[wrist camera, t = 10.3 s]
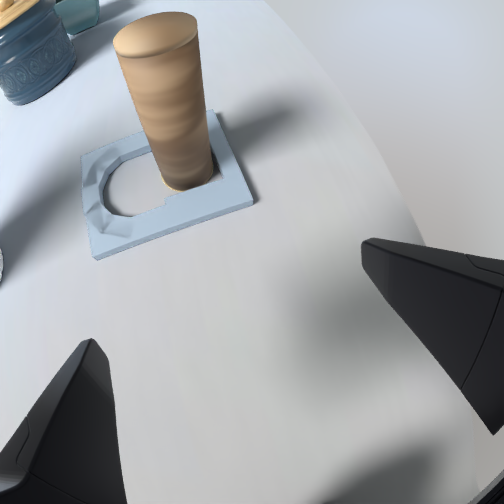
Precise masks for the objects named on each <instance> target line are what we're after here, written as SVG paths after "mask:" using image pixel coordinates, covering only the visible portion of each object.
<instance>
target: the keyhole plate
mask: <svg viewBox="0 0 504 504" xmlns="http://www.w3.org/2000/svg"><path fill="white" fill-rule="evenodd" d="M206 116H207V124H208V133H209V141H210V148H211V150H212V153H213V155H214V158H215V160H216V163H217V165H218V168H219V170H220V173H221V175H222V178H223V179H221V180H217V181H214V182H211V183H208V184H205V185H204V184H203V185H202V186H199V187H196V188H193V189H190V190H187V191H179V192H181V193H178V194H175V195H172V196H170V197H167V198H164V200H165V204H166V205H163V206H160V207H157V208H155V209H152V210H149V211H147V212H144V213H141V214H139V215H136V216H133V217H124V216H118V215H112V214H111V213H110V212H109V211H108V210H107V209H106V208H105V206H104V200H103V193H102V192H103V189H104V186H105V184H106V181H107V179H108V176H109V175H110V174H111V173H112V172H113V171H114V170H115V169H116V168H117V167H118V166H119V165H120V164H121V163H122V162H124V161H127V160H129V159H132V158H134V157H137V156H140V155H142V154H145V153H148V152H151V151H152V150H151V147H150V145H149V142H148V140H147V137H146V135H145V132H144V131H141V132H139V133H136V134H133V135H131V136H128V137H125V138H123V139H120V140H118V141H115V142H113V143H110V144H108V145H106V146H103V147H101V148H99V149H96V150H94V151H92V152H89V153H87V154H85V155H83V156H81V170H82V183H83V187H82V189H81V193H82V203H83V212H84V216H85V217H86V220H87V228H88V235H89V241H90V247H91V253H92V257H93V258H94V259H96V260H100V259H102V258H105V257H107V256H110V255H113V254H115V253H118V252H120V251H123V250H126V249H128V248H131V247H134V246H136V245H139V244H142V243H144V242H147V241H150V240H153V239H155V238H158V237H161V236H164V235H166V234H169V233H172V232H175V231H178V230H180V229H183V228H186V227H189V226H192V225H195V224H198V223H200V222H203V221H206V220H209V219H212V218H215V217H218V216H221V215H224V214H227V213H230V212H233V211H236V210H239V209H242V208H245V207H248V206H252V205H253V198H252V195H251V193H250V191H249V188H248V186H247V184H246V182H245V179H244V177H243V175H242V173H241V170H240V168H239V166H238V163H237V161H236V159H235V157H234V154H233V152H232V150H231V148H230V146H229V143H228V141H227V139H226V137H225V134H224V132H223V130H222V128H221V126H220V123H219V121H218V119H217V117H216V115H215V112H214V110H213V109H211V110H208V111H206ZM152 153H153V152H152ZM212 165H213V161H212ZM212 173H213V169H212ZM211 175H212V174H211ZM161 177H162V175H161ZM210 177H211V176H210ZM209 179H210V178H209ZM209 179H208V180H209ZM162 180H163V182H164V183H165V181H164V179H163V177H162ZM208 180H207V181H208ZM206 183H207V182H206ZM165 185H166V186H167V187H169V186H168V185H167V184H166V183H165ZM169 188H170V187H169ZM170 189H172V188H170ZM172 190H174V189H172ZM175 191H178V190H175Z"/></svg>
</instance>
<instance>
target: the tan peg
mask: <svg viewBox="0 0 504 504" xmlns="http://www.w3.org/2000/svg"><path fill="white" fill-rule="evenodd" d="M113 45H114V48H115V51H116V54H117V57H118V60H119V63H120V66H121V69H122V72H123V75H124V77H125V80H126V83H127V86H128V89H129V92H130V94H131V97H132V100H133V103H134V105H135V108H136V111H137V113H138V116H139V119H140V121H141V124H142V127H143V129H144V132H145V135H146V137H147V140H148V142H149V145H150V147H151V150H152V152H153V155H154V157H155V160H156V162H157V165H158V167H159V170H160V172H161V175H162V177H163V179H164V181H165V183H166V184H167V185H168V186H169V187H170V188H172V189H174V190H178V191H187V190H190V189H193V188H196V187H199V186H202V185H203V184H205V183H206V182H207V180H208V179H209V178H210V176H211V174H212V169H213V165H212V157H211V149H210V141H209V133H208V124H207V116H206V107H205V98H204V89H203V80H202V70H201V60H200V50H199V40H198V29H197V20H196V18H195V17H194V16H192V15H190V14H187V13H183V12H163V13H157V14H152V15H149V16H146V17H143V18H140V19H138V20H136V21H134V22H132V23H130V24H128V25H127V26H125V27H124V28H122V29H121V30H120V31H119V32H118V33H117V34H116V36H115V37H114V40H113Z"/></svg>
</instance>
